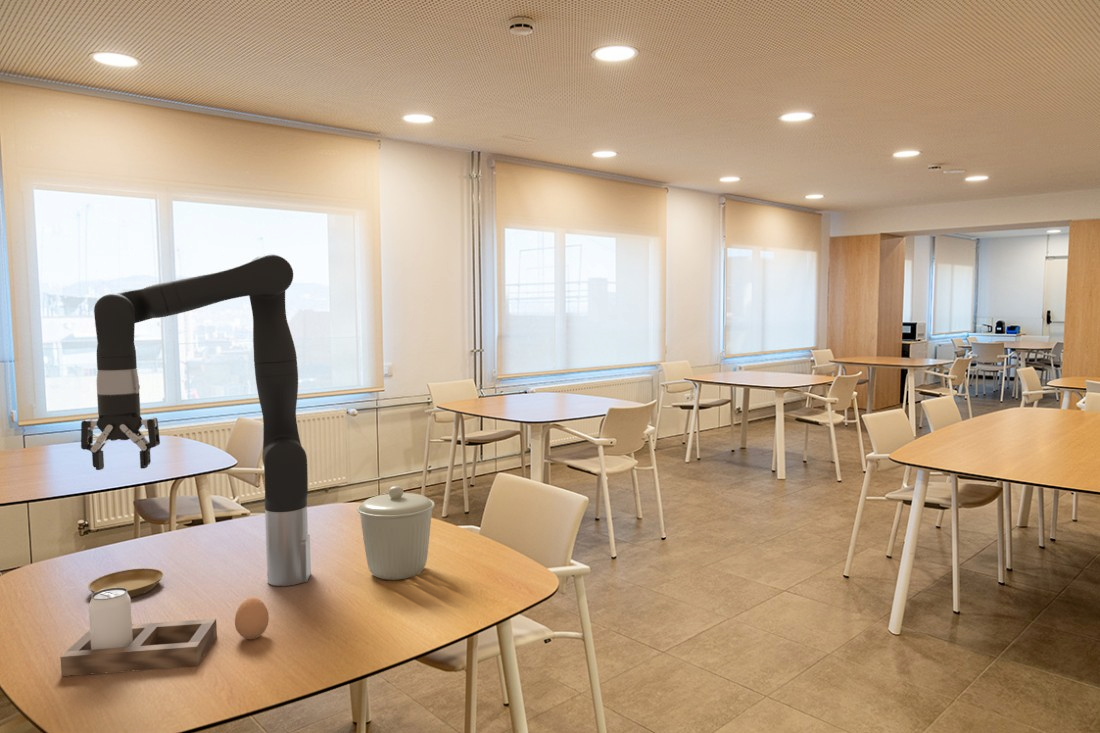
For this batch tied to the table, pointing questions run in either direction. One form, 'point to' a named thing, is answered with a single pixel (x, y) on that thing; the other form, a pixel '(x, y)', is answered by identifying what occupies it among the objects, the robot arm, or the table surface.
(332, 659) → the table surface
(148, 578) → the plant saucer
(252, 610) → the egg
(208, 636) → the rack
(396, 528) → the canister
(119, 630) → the can
